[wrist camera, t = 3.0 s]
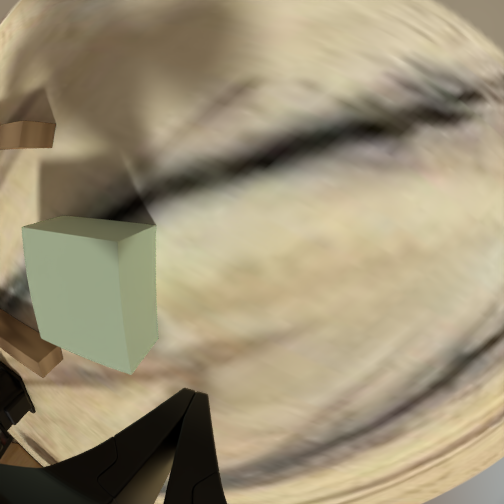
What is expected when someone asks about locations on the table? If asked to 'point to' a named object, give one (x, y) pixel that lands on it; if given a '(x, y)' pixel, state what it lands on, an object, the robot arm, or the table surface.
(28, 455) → the wooden block
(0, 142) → the set of wooden bars
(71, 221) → the sage block
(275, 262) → the table surface
